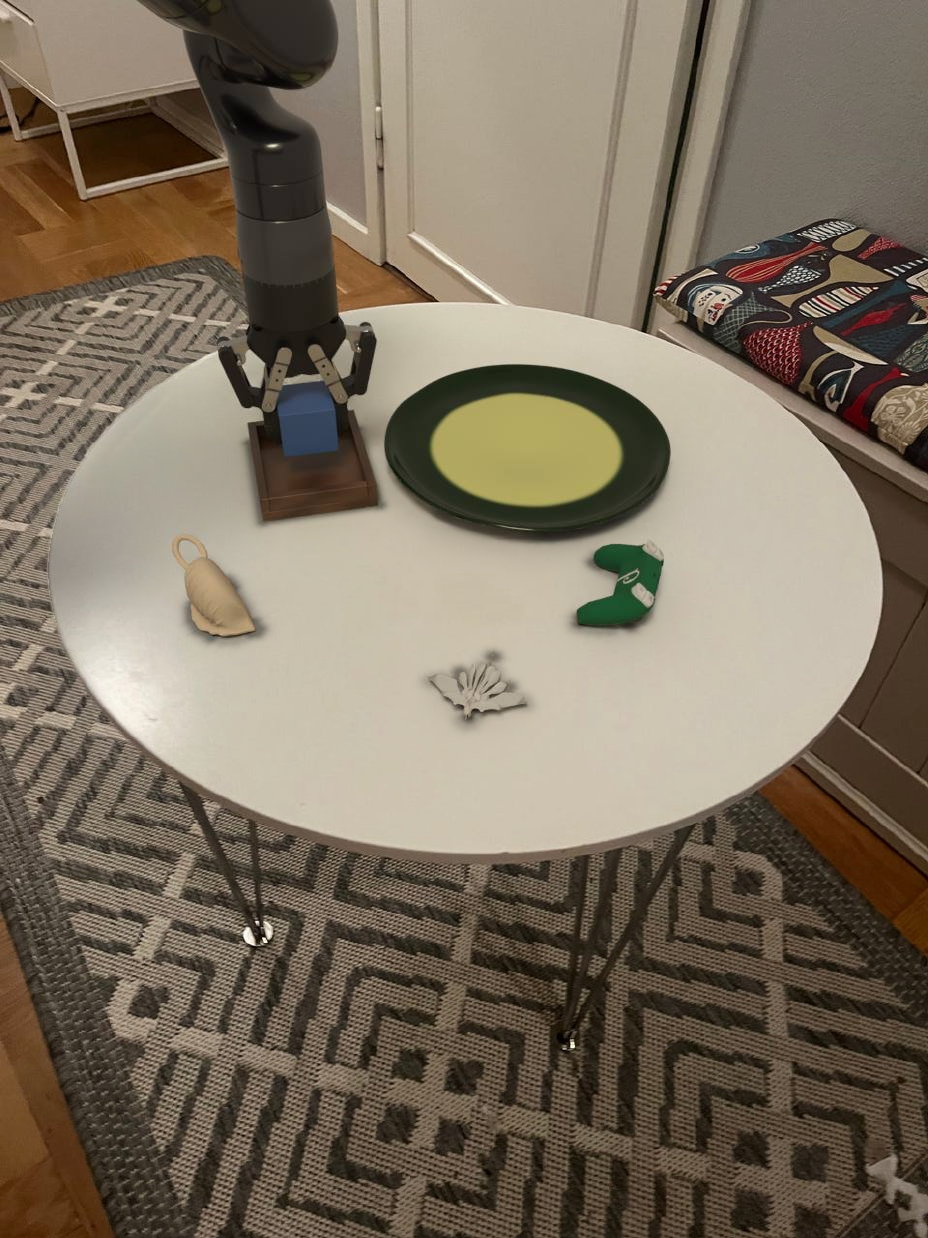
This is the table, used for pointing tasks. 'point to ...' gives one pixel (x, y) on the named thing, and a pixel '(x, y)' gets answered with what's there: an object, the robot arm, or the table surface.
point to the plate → (527, 448)
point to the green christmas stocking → (625, 584)
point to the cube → (307, 419)
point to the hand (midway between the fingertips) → (308, 435)
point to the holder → (312, 476)
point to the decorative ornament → (212, 594)
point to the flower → (477, 690)
